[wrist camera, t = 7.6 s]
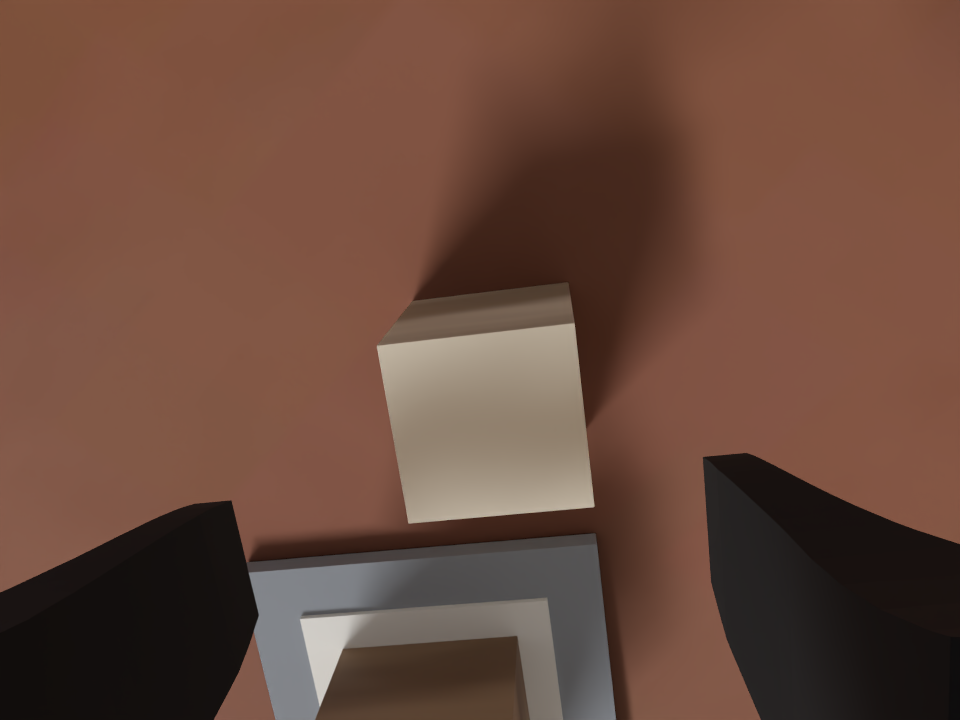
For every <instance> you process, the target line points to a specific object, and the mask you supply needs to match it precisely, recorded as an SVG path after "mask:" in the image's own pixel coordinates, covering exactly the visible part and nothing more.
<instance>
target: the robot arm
mask: <svg viewBox="0 0 960 720" xmlns="http://www.w3.org/2000/svg"><path fill="white" fill-rule="evenodd" d="M703 465H704V481H705V496H706V511H707V526H708V541H709V556H710V571H711V583H712V587H713V591H714V594H715V598H716V602H717V606H718V609H719V613H720V617H721V620H722V624H723V627H724V631H725V634H726V638H727V641H728V643H729V646H730V648H731V650H732V653H733V655H734V658H735V660H736V662H737V665H738V667H739V669H740V672H741V674H742V676H743V679H744V681H745V684H746V686H747V688H748V691H749V693H750V695H751V697H752V700H753V702H754V704H755V707H756V709H757V711H758V714H759V716H760V718H761V720H960V544H957V543H954V542H951V541H948V540H945V539H942V538H939V537H936V536H933V535H930V534H927V533H924V532H920V531H917V530H914V529H912V528H909V527H906V526H904V525H901V524H898V523H896V522H893V521H891V520H888V519H886V518H883V517H881V516H879V515H876V514H874V513H871V512H869V511H867V510H864V509H862V508H860V507H857V506H855V505H853V504H851V503H848V502H846V501H844V500H842V499H840V498H838V497H835V496H833V495H831V494H829V493H827V492H825V491H823V490H821V489H819V488H817V487H815V486H813V485H811V484H809V483H807V482H805V481H803V480H801V479H799V478H797V477H795V476H794V475H792V474H790V473H788V472H786V471H784V470H782V469H780V468H778V467H776V466H774V465H772V464H770V463H768V462H766V461H764V460H762V459H760V458H758V457H756V456H753V455H751V454H748V453H742V454H731V455H720V456H709V457H703ZM258 617H259V613H258V609H257V605H256V601H255V596H254V592H253V588H252V584H251V580H250V576H249V572H248V567H247V563H246V559H245V555H244V551H243V547H242V543H241V539H240V534H239V530H238V526H237V522H236V518H235V514H234V510H233V505H232V501H221V502H210V503H199V504H193V505H189V506H186V507H183V508H180V509H177V510H174V511H172V512H169V513H167V514H165V515H162V516H160V517H158V518H156V519H153V520H151V521H149V522H147V523H145V524H143V525H141V526H139V527H137V528H135V529H133V530H130V531H128V532H126V533H124V534H122V535H120V536H118V537H116V538H114V539H112V540H110V541H108V542H106V543H104V544H102V545H100V546H98V547H96V548H94V549H92V550H90V551H88V552H86V553H84V554H82V555H80V556H78V557H76V558H74V559H72V560H70V561H68V562H65V563H63V564H61V565H59V566H57V567H55V568H53V569H50V570H48V571H46V572H44V573H42V574H40V575H38V576H36V577H33V578H31V579H29V580H27V581H25V582H23V583H21V584H18V585H16V586H14V587H12V588H10V589H8V590H5V591H3V592H1V593H0V720H214V718H215V716H216V714H217V712H218V711H219V709H220V707H221V705H222V703H223V701H224V699H225V697H226V696H227V694H228V692H229V690H230V688H231V686H232V684H233V682H234V680H235V678H236V676H237V674H238V672H239V670H240V667H241V665H242V662H243V660H244V657H245V655H246V652H247V649H248V647H249V644H250V641H251V638H252V635H253V632H254V629H255V626H256V623H257V620H258Z"/></svg>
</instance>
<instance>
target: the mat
mask: <svg viewBox="0 0 960 720" xmlns="http://www.w3.org/2000/svg"><path fill="white" fill-rule="evenodd" d="M247 567H248V572H249V576H250V580H251V584H252V588H253V592H254V596H255V601H256V605H257V609H258V613H259V617H258V620H257V623H256V626H255V629H254V634H255V638H256V642H257V646H258V650H259V654H260V658H261V662H262V667H263V671H264V675H265V679H266V683H267V687H268V691H269V695H270V699H271V703H272V707H273V711H274V715H275V719H276V720H315V719H316V716H317V713H318V711H319V708H320V706H321V703H322V701H323V698H324V696H325V693H326V691H327V688H328V685H329V683H330V680H331V678H332V675H333V673H334V670H335V668H336V665H337V662H338V660H339V657H340V655H341V652H342V650H343V649H349V648H362V647H376V646H389V645H402V644H416V643H429V642H442V641H456V640H469V639H483V638H496V637H509V636H517V637H518V643H519V650H520V657H521V663H522V670H523V677H524V683H525V690H526V697H527V703H528V710H529V717H530V720H616V715H615V706H614V697H613V687H612V678H611V669H610V660H609V650H608V641H607V632H606V623H605V613H604V604H603V595H602V586H601V576H600V567H599V558H598V549H597V540H596V533H592V534H580V535H568V536H556V537H544V538H532V539H520V540H508V541H496V542H484V543H472V544H460V545H448V546H436V547H425V548H413V549H401V550H389V551H377V552H365V553H353V554H341V555H329V556H317V557H305V558H293V559H281V560H269V561H257V562H247Z"/></svg>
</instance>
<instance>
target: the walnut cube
mask: <svg viewBox="0 0 960 720" xmlns="http://www.w3.org/2000/svg"><path fill="white" fill-rule="evenodd" d="M315 720H530V717H529V710H528V703H527V697H526V690H525V683H524V677H523V670H522V663H521V657H520V650H519V643H518V637H517V636H509V637H496V638H483V639H469V640H456V641H442V642H429V643H416V644H402V645H389V646H376V647H362V648H349V649H343V650H342V652H341V655H340V657H339V660H338V662H337V665H336V668H335V670H334V673H333V675H332V678H331V680H330V683H329V685H328V688H327V691H326V693H325V696H324V698H323V701H322V703H321V706H320V708H319V711H318V713H317V716H316V719H315Z"/></svg>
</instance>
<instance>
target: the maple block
mask: <svg viewBox="0 0 960 720" xmlns="http://www.w3.org/2000/svg"><path fill="white" fill-rule="evenodd" d="M377 350H378V355H379V361H380V366H381V372H382V378H383V383H384V389H385V394H386V400H387V405H388V411H389V417H390V422H391V428H392V433H393V439H394V445H395V450H396V456H397V461H398V467H399V473H400V478H401V484H402V489H403V495H404V501H405V506H406V512H407V517H408V523H420V522H432V521H443V520H454V519H466V518H477V517H488V516H500V515H511V514H523V513H534V512H545V511H557V510H568V509H579V508H591V507H594V498H593V488H592V479H591V470H590V461H589V452H588V442H587V433H586V424H585V415H584V406H583V396H582V387H581V378H580V369H579V360H578V350H577V341H576V332H575V323H574V316H573V310H572V303H571V296H570V290H569V283H568V282H565V283H557V284H548V285H540V286H532V287H524V288H515V289H507V290H499V291H491V292H483V293H474V294H466V295H458V296H450V297H441V298H433V299H425V300H417V301H412V302H411V304H410V305H409V306H408V307H407V309H406V310H405V311H404V312H403V314H402V315H401V316H400V317H399V319H398V320H397V321H396V322H395V324H394V325H393V326H392V327H391V329H390V330H389V331H388V332H387V334H386V335H385V336H384V337H383V339H382V340H381V341H380V343H379V344H378V345H377Z"/></svg>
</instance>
